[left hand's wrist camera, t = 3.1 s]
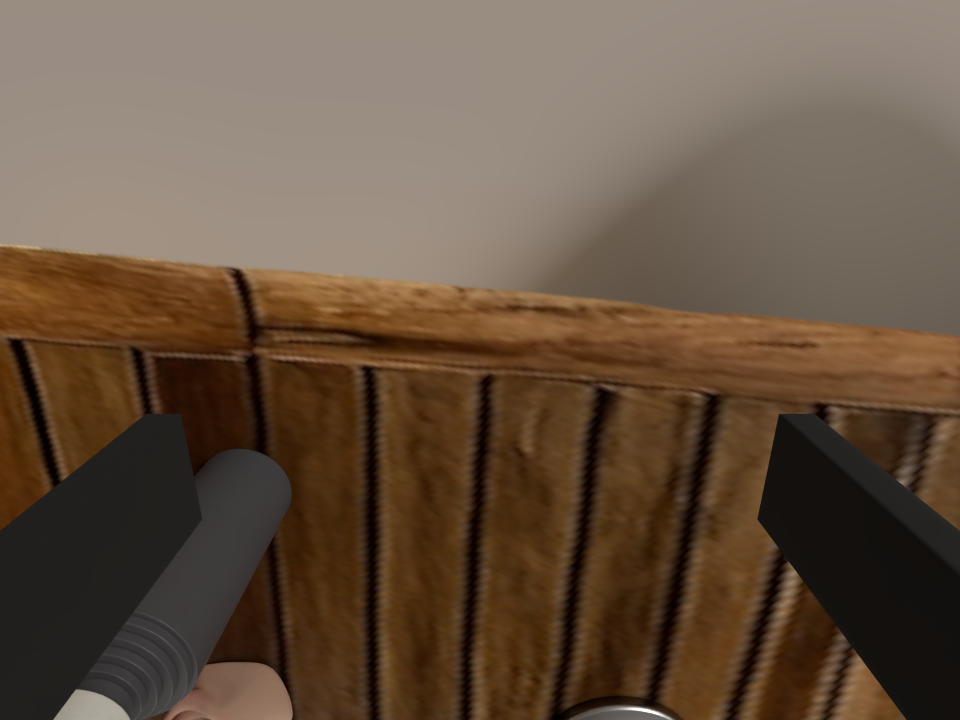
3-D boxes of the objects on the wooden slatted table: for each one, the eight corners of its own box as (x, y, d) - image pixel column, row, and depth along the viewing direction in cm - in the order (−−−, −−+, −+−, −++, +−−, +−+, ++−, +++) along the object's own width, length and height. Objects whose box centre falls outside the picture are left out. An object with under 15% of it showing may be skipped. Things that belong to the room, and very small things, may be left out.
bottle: (185, 458, 45) (-61, 717, 24) (274, 440, 44) (99, 691, 24) (219, 534, 47) (22, 826, 27) (304, 518, 47) (168, 805, 26)
